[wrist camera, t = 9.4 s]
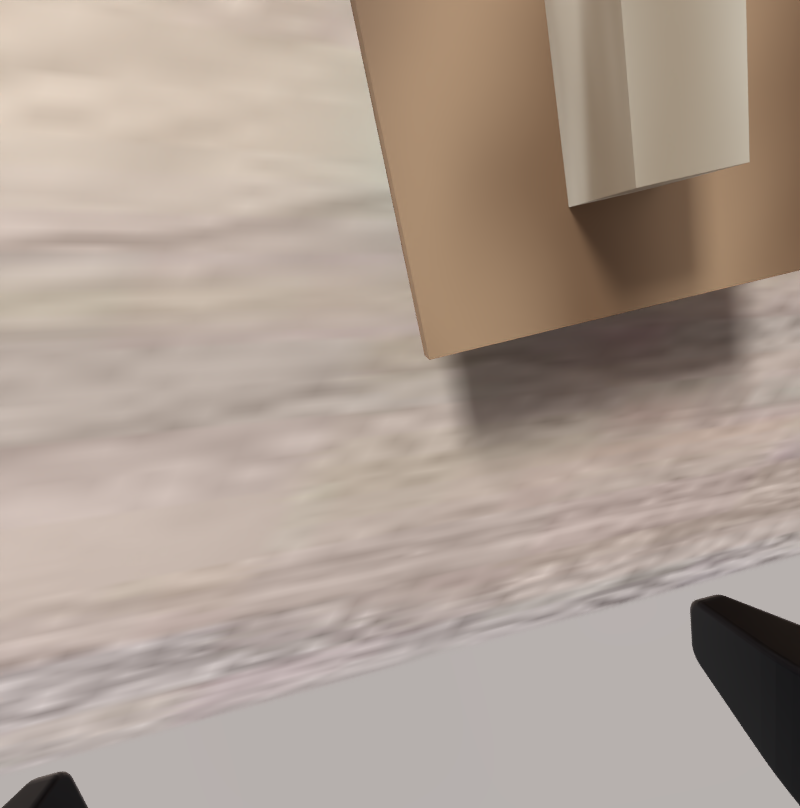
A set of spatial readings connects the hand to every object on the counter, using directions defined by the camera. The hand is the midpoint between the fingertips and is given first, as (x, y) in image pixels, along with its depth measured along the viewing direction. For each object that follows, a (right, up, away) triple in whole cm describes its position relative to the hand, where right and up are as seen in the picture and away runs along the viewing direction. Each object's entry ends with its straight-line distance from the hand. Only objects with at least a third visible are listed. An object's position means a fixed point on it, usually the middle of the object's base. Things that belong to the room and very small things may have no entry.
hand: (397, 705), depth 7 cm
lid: (+5, +12, +6) cm, 14 cm away
